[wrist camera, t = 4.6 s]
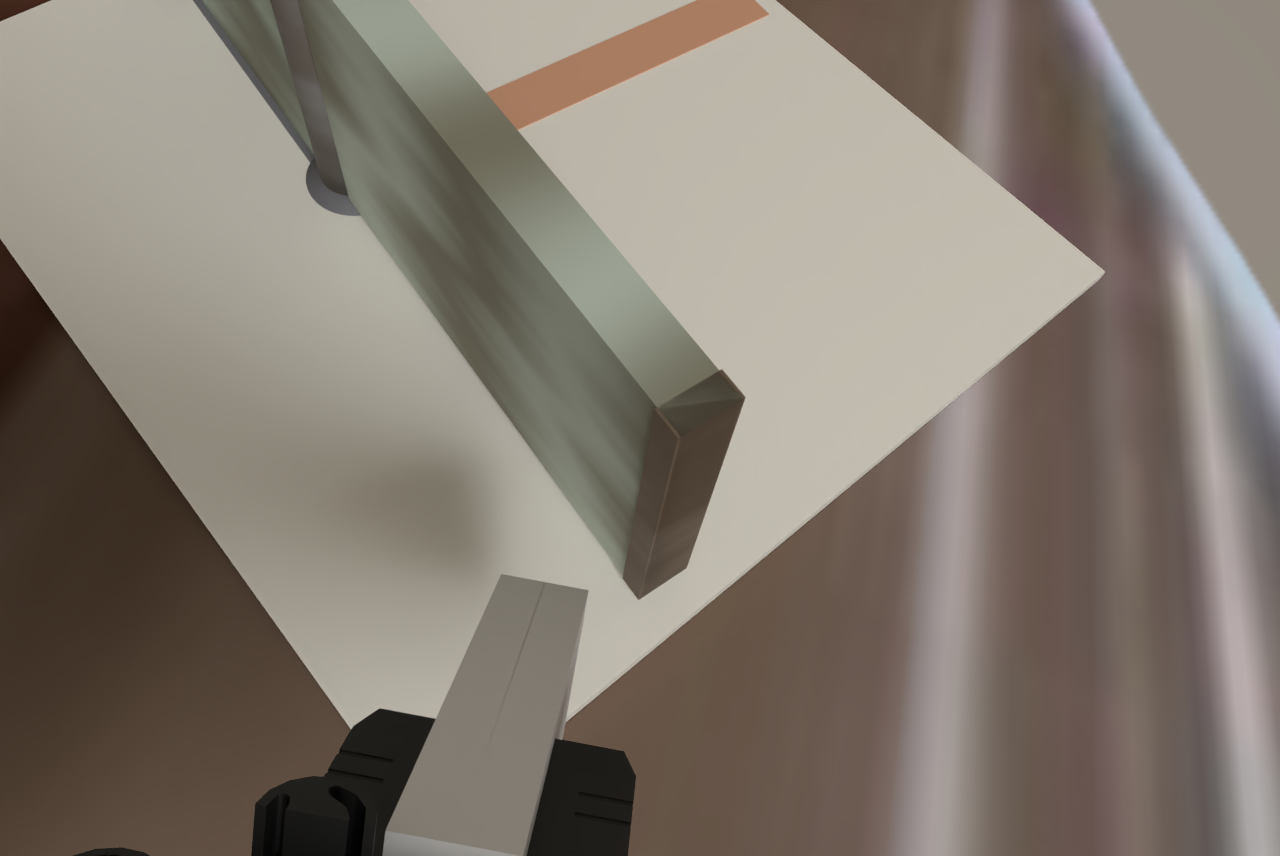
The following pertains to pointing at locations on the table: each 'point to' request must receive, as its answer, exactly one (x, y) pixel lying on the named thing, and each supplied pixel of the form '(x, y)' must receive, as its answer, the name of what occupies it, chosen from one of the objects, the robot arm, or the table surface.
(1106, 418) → the table surface
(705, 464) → the hinged fence panel
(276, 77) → the fixed fence section
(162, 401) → the card
